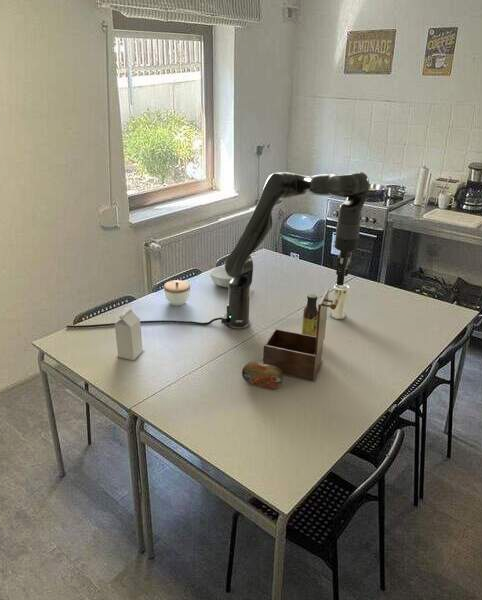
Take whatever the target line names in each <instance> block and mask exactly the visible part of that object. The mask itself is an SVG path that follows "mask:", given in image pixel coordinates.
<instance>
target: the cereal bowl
mask: <svg viewBox="0 0 482 600" xmlns="http://www.w3.org/2000/svg"><path fill="white" fill-rule="evenodd" d="M210 279H211V281H212V282H213V283H214V284H215V285H216V286H219V287H222V288H229V282H230V281H231V280H232V279H233V277H230V276H228V275H227V273H226V271H225V265H222V266H221V265H220V266H216V267H214V268H212V269H211V271H210Z"/></svg>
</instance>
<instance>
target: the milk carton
mask: <svg viewBox="0 0 482 600" xmlns="http://www.w3.org/2000/svg"><path fill="white" fill-rule="evenodd" d="M118 318H119V320H117V321H116V322H114V323H115V325H114V330H115V331H114V332H115V341H116V349H117V357H118V358H121V359H125V360H131V361H135V360H136V359H137V358H138V357H139V356H140V355H141V354H142V352H143V341H142V327H141V323H140V321H141V319H140V318H139V317H138V315H137V314H136V313H134V311H132V308H129V309H128V310H127V311H126V312H125V313H121V314H120V315H119V316H118Z"/></svg>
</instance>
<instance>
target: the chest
mask: <svg viewBox="0 0 482 600" xmlns="http://www.w3.org/2000/svg"><path fill="white" fill-rule="evenodd" d="M272 330H273V331H272V332H271V334H270V335H269V336H268V339H267V340H266V341H265V343H264V344H263V353H262V355H263V356H262V364H267V365H273V366H276V367H278V368H279V369H280V370H281V371H282V373H283V376H289V377H293V378H297V379H302V380H307V381H311V382H314V380H315V378H316V375H317V374H318V373H317V372H318V371H319V368H320V366H321V363H322V359H323V358H322V356H323V349H324V342H323V343H322V345H321V347H320V349H319V352H318V354H317V356H316V355H315V344H316V336H311V335H306V334H302V332H301V333H300V332H297V331H290V330H285V329H280V328H274V329H272Z"/></svg>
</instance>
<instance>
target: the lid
mask: <svg viewBox="0 0 482 600" xmlns="http://www.w3.org/2000/svg"><path fill="white" fill-rule="evenodd" d="M329 293H330V288H326V289H325V291H324V292H323V295H322V296H321V299H320V300H319V301H318V306H317V310H318V317H317V331H316V344H315V355H316V356H317V354H318V352H319V349H320V347H321V345H322V343H323V344H324V340H325V338H326V328H327V315H328V308H330V309H331V310H333V309H335V308H336V306H337V304H338V299H333V298H332V299H329ZM329 303H330V304H329Z"/></svg>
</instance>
